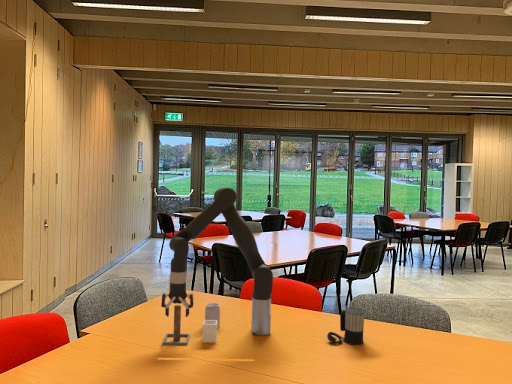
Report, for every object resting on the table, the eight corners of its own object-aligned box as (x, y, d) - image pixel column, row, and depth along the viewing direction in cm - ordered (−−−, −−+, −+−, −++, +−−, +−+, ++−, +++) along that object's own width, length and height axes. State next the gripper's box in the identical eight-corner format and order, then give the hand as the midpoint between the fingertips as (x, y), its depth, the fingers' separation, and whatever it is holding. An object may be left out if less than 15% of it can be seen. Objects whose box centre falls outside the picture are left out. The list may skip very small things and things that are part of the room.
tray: (190, 337, 207) (190, 333, 207) (187, 346, 196) (187, 342, 196) (166, 337, 206) (166, 333, 206) (162, 346, 195) (162, 342, 195)
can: (212, 331, 215) (213, 307, 215) (201, 328, 220) (202, 304, 219) (222, 328, 221) (223, 304, 221) (211, 324, 226) (212, 301, 225)
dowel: (180, 339, 202) (181, 305, 202) (179, 341, 199) (180, 307, 199) (173, 339, 202) (174, 304, 202) (172, 341, 199) (173, 306, 199)
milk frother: (367, 342, 208) (368, 311, 208) (349, 350, 197) (350, 318, 196) (341, 333, 218) (343, 304, 218) (323, 341, 207) (324, 310, 206)
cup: (216, 339, 206) (217, 320, 205) (216, 344, 200) (216, 324, 199) (203, 339, 206) (204, 319, 205) (202, 344, 199) (202, 324, 199)
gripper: (194, 279, 204) (193, 314, 205) (163, 278, 203) (162, 313, 204) (193, 283, 197) (192, 319, 197) (160, 282, 196) (159, 318, 197)
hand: (177, 316), depth 201 cm, fingers open, 8 cm apart
